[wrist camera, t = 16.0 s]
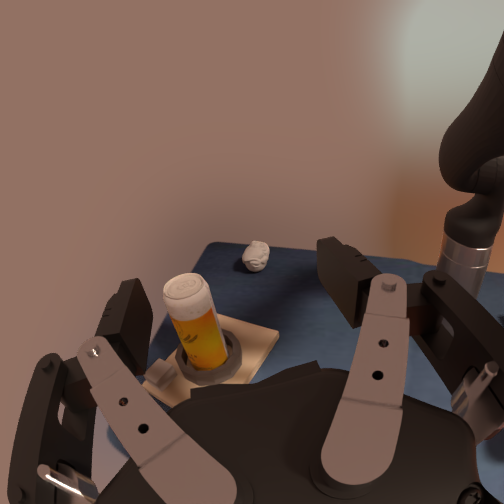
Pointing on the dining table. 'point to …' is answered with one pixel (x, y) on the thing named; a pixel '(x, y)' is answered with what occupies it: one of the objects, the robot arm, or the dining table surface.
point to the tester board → (251, 359)
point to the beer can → (196, 321)
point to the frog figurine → (256, 256)
